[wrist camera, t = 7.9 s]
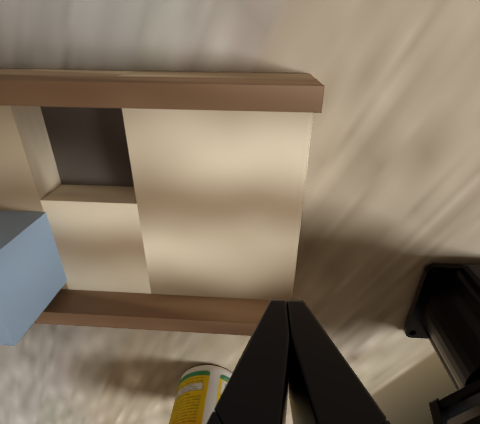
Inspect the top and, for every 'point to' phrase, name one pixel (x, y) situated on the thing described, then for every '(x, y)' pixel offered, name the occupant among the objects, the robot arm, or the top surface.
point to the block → (26, 271)
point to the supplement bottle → (198, 394)
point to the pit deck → (161, 190)
